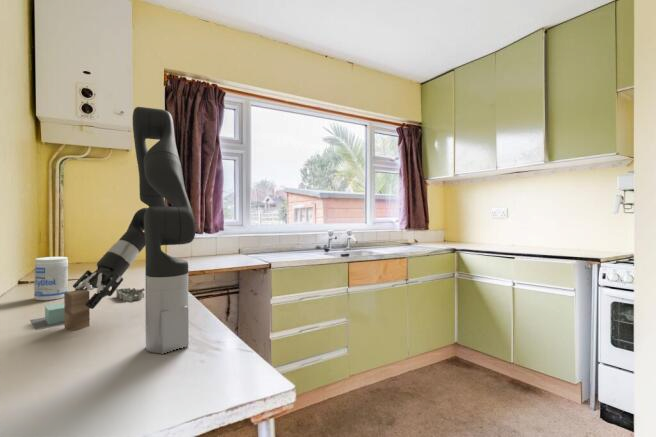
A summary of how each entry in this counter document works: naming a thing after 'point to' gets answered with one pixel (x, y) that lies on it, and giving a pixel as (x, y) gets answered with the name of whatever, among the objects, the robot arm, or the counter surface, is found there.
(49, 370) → the counter surface
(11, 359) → the counter surface
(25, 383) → the counter surface
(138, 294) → the egg carton
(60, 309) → the plinth
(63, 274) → the supplement tub
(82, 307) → the pillar
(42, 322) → the mat
